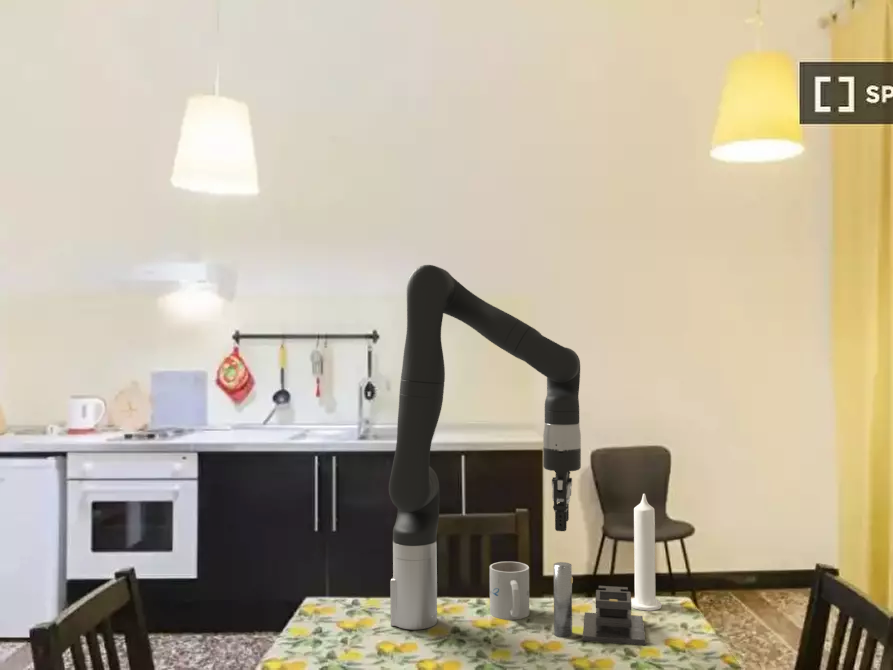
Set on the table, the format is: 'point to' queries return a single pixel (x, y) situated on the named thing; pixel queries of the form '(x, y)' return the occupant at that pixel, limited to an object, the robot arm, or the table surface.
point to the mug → (509, 590)
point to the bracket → (613, 618)
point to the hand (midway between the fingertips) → (562, 525)
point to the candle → (644, 557)
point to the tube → (563, 599)
